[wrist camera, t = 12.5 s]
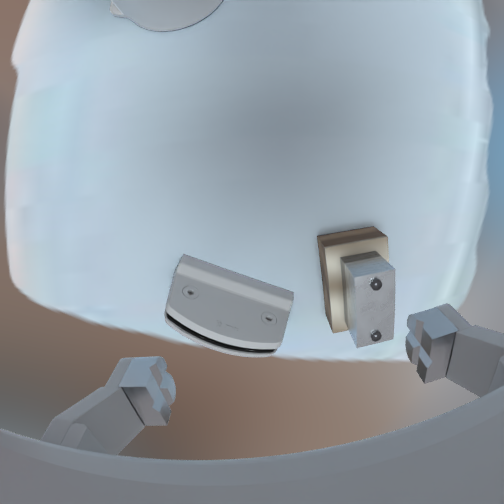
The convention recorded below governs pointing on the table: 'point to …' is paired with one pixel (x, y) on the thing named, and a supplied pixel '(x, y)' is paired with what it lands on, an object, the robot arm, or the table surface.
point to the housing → (368, 297)
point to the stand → (331, 266)
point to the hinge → (227, 309)
